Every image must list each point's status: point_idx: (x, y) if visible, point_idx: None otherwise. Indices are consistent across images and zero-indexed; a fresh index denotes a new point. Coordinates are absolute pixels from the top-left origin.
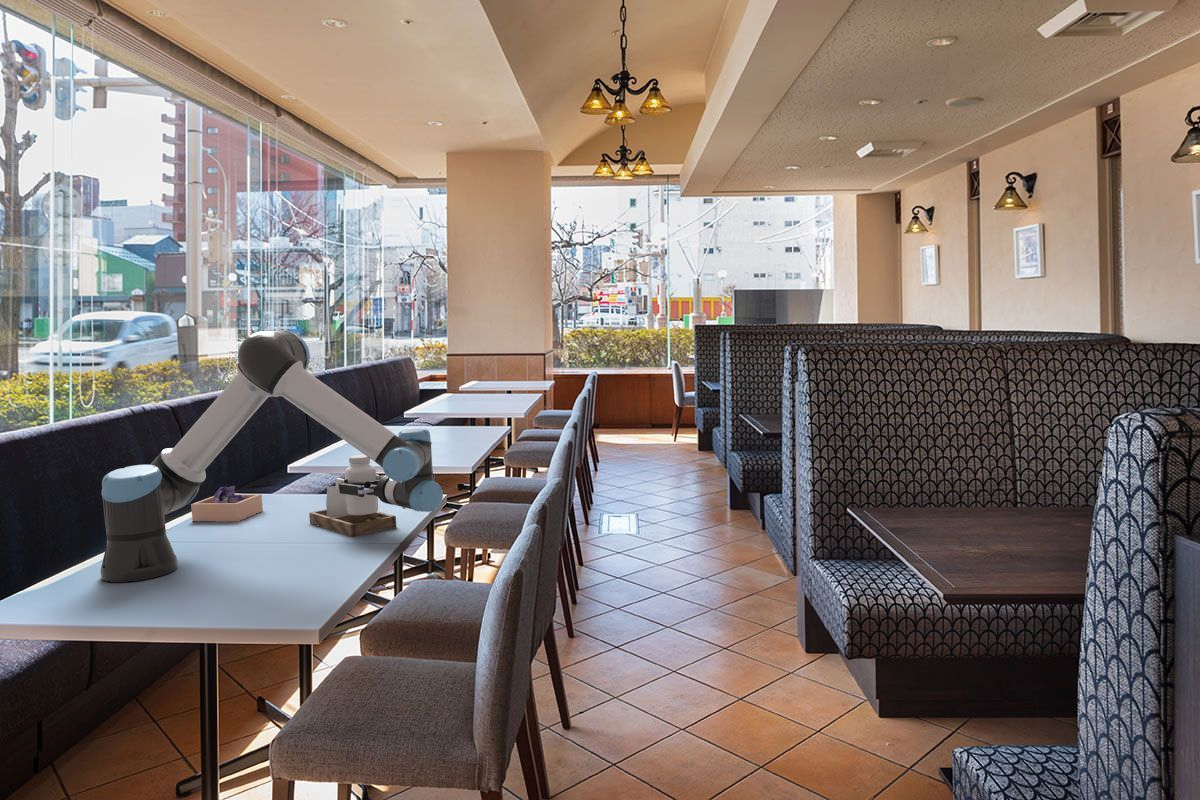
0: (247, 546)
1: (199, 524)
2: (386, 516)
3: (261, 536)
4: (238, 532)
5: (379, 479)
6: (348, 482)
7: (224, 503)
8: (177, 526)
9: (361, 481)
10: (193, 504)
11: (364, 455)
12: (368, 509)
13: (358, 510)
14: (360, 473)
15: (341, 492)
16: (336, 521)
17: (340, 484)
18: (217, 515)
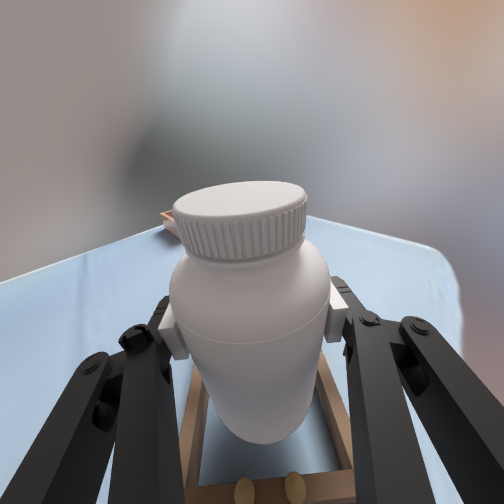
0: (42, 356)
1: (159, 235)
2: (337, 428)
3: (124, 307)
4: (139, 272)
5: (342, 323)
6: (136, 361)
7: (173, 219)
8: (146, 233)
9: (215, 367)
10: (160, 214)
11: (277, 188)
12: (258, 441)
13: (222, 421)
14: (201, 334)
15: (95, 406)
16: (194, 367)
17: (71, 380)
18: (172, 229)
